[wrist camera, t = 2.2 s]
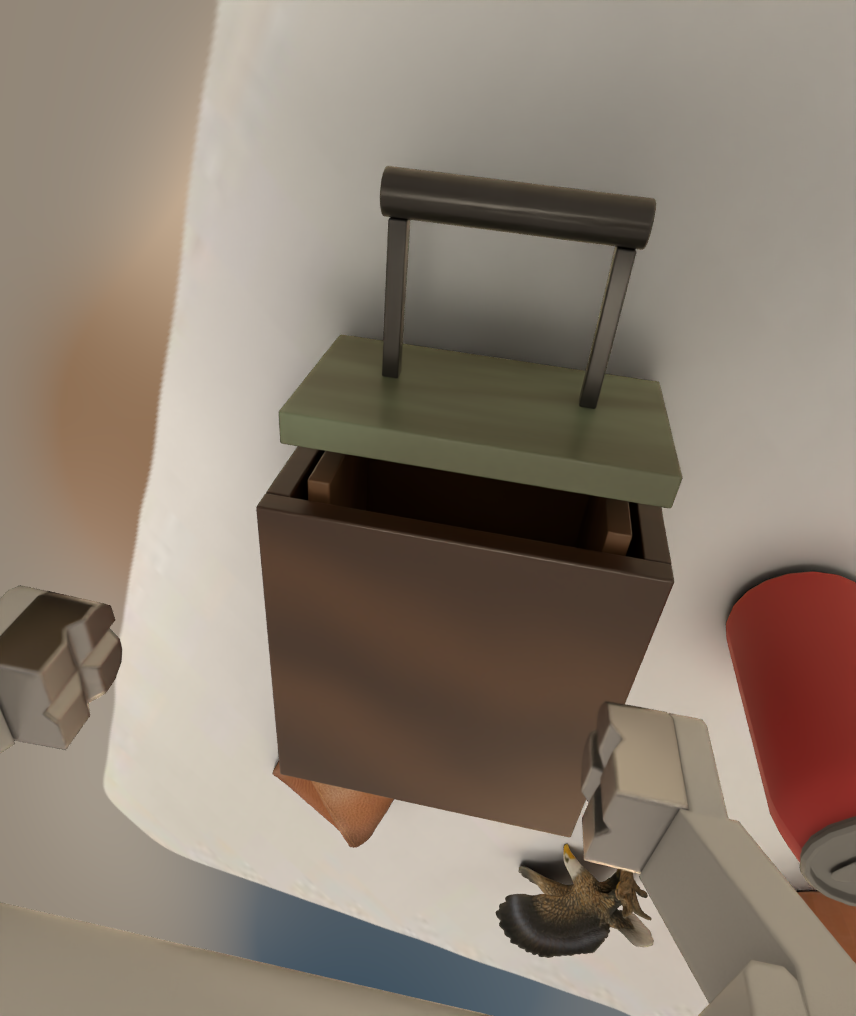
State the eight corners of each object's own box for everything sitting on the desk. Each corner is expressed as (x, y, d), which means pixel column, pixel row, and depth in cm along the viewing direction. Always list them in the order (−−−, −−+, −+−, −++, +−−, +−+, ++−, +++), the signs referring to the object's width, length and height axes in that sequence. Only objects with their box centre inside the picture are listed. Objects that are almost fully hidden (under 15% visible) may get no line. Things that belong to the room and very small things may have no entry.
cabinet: (332, 393, 29) (254, 506, 22) (650, 443, 28) (675, 581, 21) (334, 639, 38) (279, 774, 31) (571, 686, 37) (570, 838, 30)
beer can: (696, 601, 32) (748, 843, 22) (836, 540, 29) (967, 792, 19) (764, 681, 34) (837, 932, 25) (902, 633, 31) (1049, 900, 21)
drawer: (340, 144, 22) (263, 178, 17) (719, 189, 21) (770, 242, 16) (339, 597, 35) (295, 702, 29) (577, 643, 34) (578, 761, 28)
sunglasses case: (313, 616, 37) (342, 722, 32) (427, 607, 40) (467, 703, 35) (268, 777, 48) (285, 873, 43) (361, 760, 51) (385, 848, 46)
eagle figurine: (592, 828, 43) (479, 877, 45) (646, 955, 39) (518, 1000, 42) (627, 822, 49) (525, 866, 51) (677, 932, 45) (564, 973, 48)
